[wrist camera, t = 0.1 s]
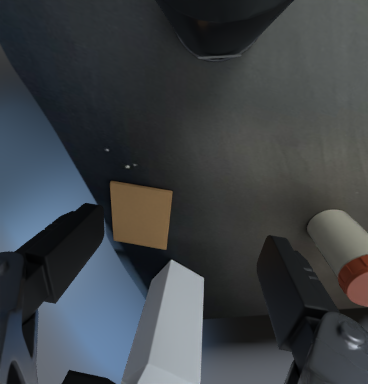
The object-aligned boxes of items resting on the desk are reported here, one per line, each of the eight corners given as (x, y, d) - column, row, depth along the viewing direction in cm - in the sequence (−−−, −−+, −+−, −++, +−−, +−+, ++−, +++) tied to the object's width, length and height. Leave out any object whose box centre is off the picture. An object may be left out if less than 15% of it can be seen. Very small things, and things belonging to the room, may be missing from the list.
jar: (317, 206, 27) (364, 259, 19) (359, 212, 27) (426, 270, 18) (300, 237, 30) (335, 296, 21) (339, 244, 29) (389, 306, 21)
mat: (111, 180, 29) (109, 182, 28) (172, 190, 28) (171, 192, 28) (115, 238, 34) (113, 240, 34) (166, 247, 34) (165, 249, 33)
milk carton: (171, 258, 35) (135, 417, 18) (204, 277, 36) (198, 441, 19) (151, 278, 38) (106, 430, 21) (182, 295, 39) (162, 450, 23)
